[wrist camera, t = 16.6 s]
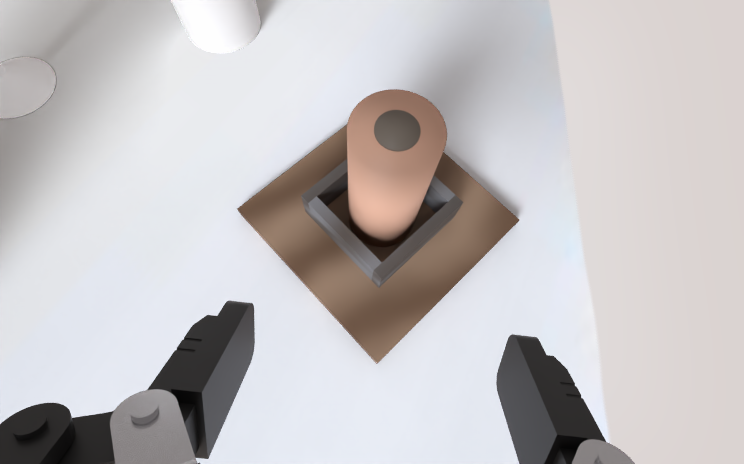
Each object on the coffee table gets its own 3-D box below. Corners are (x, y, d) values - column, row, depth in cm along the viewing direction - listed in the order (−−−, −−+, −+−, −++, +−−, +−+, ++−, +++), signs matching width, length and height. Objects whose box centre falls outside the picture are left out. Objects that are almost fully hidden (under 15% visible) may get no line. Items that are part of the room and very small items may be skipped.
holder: (240, 213, 33) (225, 192, 29) (381, 104, 37) (384, 73, 33) (376, 363, 29) (380, 361, 26) (515, 224, 34) (535, 205, 30)
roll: (335, 214, 32) (325, 126, 21) (381, 174, 34) (396, 71, 22) (381, 260, 31) (397, 195, 20) (427, 217, 32) (468, 132, 21)
